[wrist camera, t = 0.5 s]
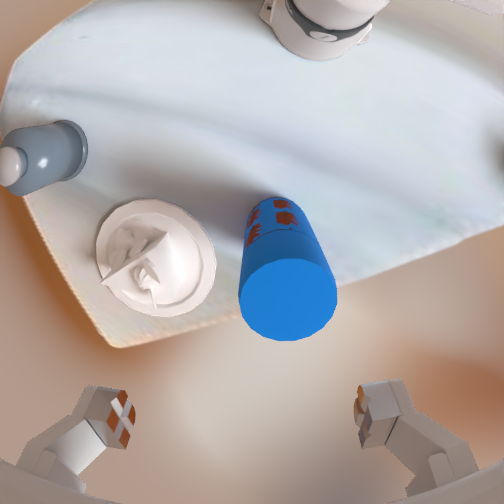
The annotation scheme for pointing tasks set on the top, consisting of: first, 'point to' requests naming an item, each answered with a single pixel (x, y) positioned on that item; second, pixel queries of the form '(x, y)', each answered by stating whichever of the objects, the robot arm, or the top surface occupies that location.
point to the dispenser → (41, 156)
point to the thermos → (284, 274)
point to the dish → (156, 257)
